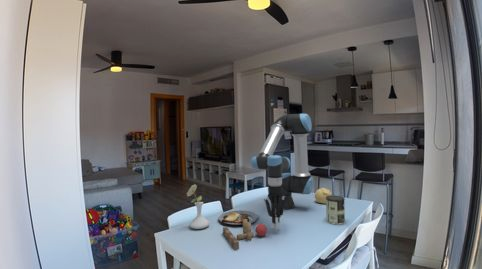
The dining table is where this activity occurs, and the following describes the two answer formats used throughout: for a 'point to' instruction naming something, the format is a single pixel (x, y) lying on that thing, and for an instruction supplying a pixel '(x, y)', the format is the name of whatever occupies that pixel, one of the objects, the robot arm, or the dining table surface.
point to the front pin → (244, 236)
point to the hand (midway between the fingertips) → (276, 228)
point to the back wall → (231, 238)
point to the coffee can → (335, 209)
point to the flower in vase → (199, 220)
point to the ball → (261, 229)
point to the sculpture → (322, 195)
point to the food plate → (237, 217)
